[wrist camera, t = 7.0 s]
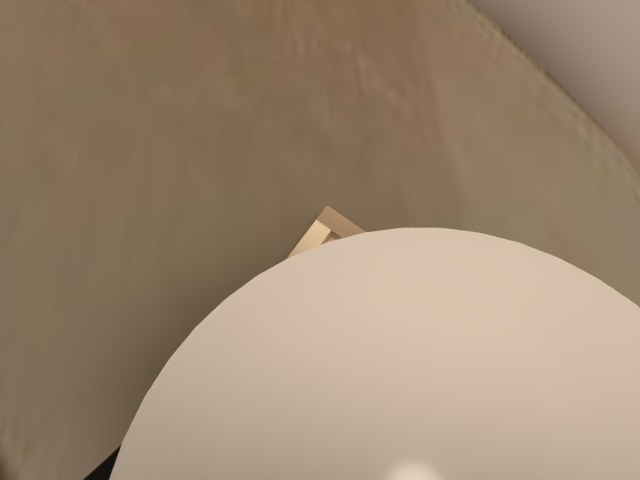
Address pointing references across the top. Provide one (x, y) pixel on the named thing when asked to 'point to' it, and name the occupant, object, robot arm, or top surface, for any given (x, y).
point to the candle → (401, 370)
